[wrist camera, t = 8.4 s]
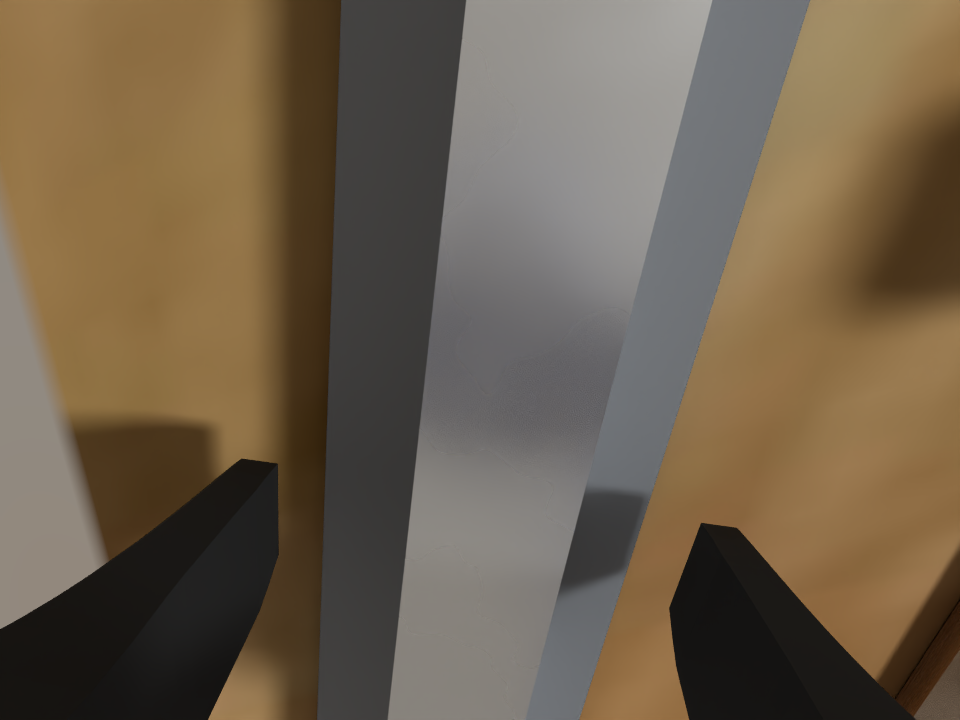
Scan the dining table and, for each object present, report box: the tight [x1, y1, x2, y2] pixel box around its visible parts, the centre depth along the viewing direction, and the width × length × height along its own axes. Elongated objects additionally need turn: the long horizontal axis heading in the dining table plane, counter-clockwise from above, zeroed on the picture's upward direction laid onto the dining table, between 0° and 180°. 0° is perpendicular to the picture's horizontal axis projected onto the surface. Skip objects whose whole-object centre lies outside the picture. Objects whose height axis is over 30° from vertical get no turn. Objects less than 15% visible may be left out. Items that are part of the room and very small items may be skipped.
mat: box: [317, 0, 810, 720], centre depth 13 cm, size 21×6×1 cm, turn 172°
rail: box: [388, 0, 712, 720], centre depth 12 cm, size 20×2×2 cm, turn 172°
